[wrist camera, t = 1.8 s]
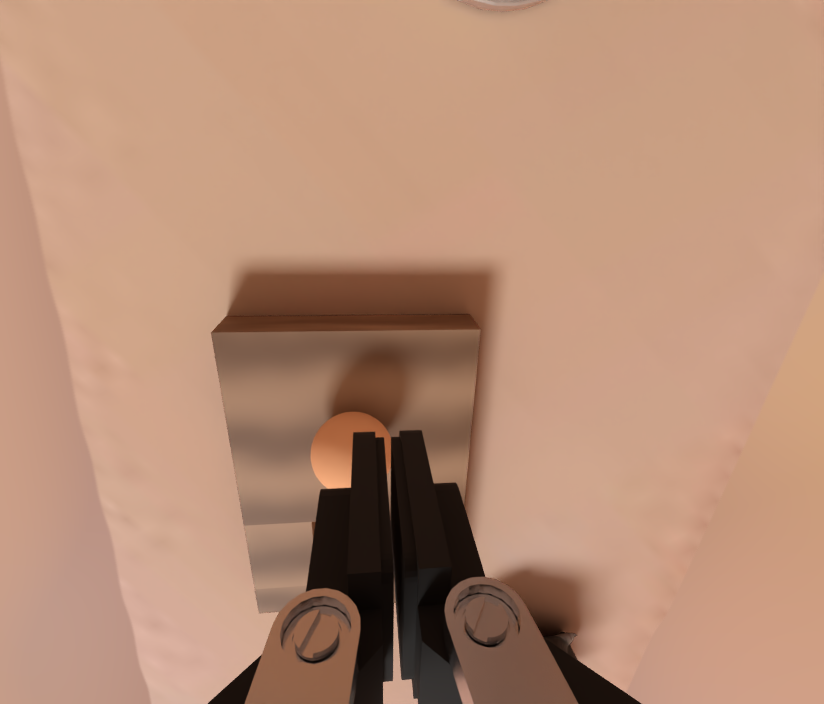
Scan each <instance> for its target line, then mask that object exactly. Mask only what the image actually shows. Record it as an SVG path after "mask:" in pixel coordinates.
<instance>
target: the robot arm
mask: <svg viewBox="0 0 824 704" xmlns="http://www.w3.org/2000/svg"><path fill="white" fill-rule="evenodd" d="M457 1H460V2H463V3H465V4H468V5H470V6H473V7H476V8H478V9H484V10H492V11H500V12H504V11H513V10H521V9H526V8H529V7H531V6H534V5H537V4H540V3H543V2H545V1H547V0H457ZM394 584H395V598H396V612H397V625H398V639H399V653H400V667H401V678H402V680H407V679H412V686H413V697H414V699H415V698H418V704H641V703H640V702H638V701H637V700H635V699H634V698H632V697H631V696H629V695H628V694H627V693H625V692H624V691H622V690H621V689H619V688H618V687H616V686H615V685H613V684H612V683H610V682H609V681H607V680H606V679H604V678H603V677H601V676H600V675H598V674H597V673H596V672H594V671H593V670H591V669H590V668H588V667H587V666H585V665H584V664H582V663H581V662H579V661H578V660H576V659H575V658H573V657H572V656H570V655H569V654H568V653H566V652H565V651H563V650H562V649H560V648H559V647H557V646H556V645H554V644H553V643H551V642H550V641H548V640H547V639H545V638H544V637H542V635H541V633H540V631H539V629H538V627H537V625H536V623H535V622H534V620H533V618H532V616H531V614H530V612H529V610H528V608H527V607H526V605H525V603H524V602H523V600H522V599H521V598H520V596H519V595H518V594H517V593H516V592H515V591H514V590H513V589H511V588H510V587H509V586H508V585H506V584H504V583H502V582H500V581H498V580H496V579H492V578H487V577H485V574H484V571H483V567H482V564H481V561H480V557H479V554H478V551H477V547H476V544H475V541H474V537H473V534H472V531H471V527H470V524H469V521H468V517H467V514H466V510H465V507H464V504H463V500H462V497H461V494H460V490H459V487H458V485H457V483H456V482H453V483H433V478H432V474H431V469H430V465H429V460H428V456H427V451H426V447H425V442H424V438H423V433H422V430H403V431H399V437H391V508H390V509H389V496H388V482H387V469H386V455H385V442H384V437H375V432H353V447H352V471H351V488H332V489H321V490H320V494H319V500H318V508H317V515H316V522H315V529H314V536H313V544H312V551H311V558H310V565H309V572H308V580H307V587H306V592H304V593H301V594H300V595H298V596H297V597H295V598H294V599H292V600H291V601H289V602H288V603H287V604H286V605H285V606H284V608H283V609H282V610H281V611H280V612H279V614H278V615H277V617H276V619H275V621H274V623H273V625H272V628H271V631H270V634H269V636H268V639H267V642H266V645H265V648H264V650H263V653H262V655H261V656H260V657H259V658H258V659H257V660H255V661H254V662H253V663H252V664H251V665H250V666H249V667H248V668H247V669H245V670H244V671H243V672H242V673H241V674H240V675H239V676H238V677H237V678H235V679H234V680H233V681H232V682H231V683H230V684H229V685H228V686H227V687H225V688H224V689H223V690H222V691H221V692H220V693H219V694H218V695H217V696H216V697H214V698H213V699H212V700H211V701H210V702H209V703H208V704H383V682H386V681H393V616H394Z"/></svg>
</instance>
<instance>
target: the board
mask: <svg viewBox="0 0 824 704" xmlns="http://www.w3.org/2000/svg"><path fill="white" fill-rule="evenodd" d="M480 331H481V329H480V328H479V326H478V325H477V324H476V322H475V321H474V319H473V318H472V317H471V315H470V314H450V315H323V316H226V317H225V318H224V319H223V320H222V321H221V323H220V324H219V325H218V326H217V327H216V328H215V329H214V330H213V331H212V332H211V335H212V341H213V347H214V353H215V359H216V365H217V371H218V376H219V382H220V388H221V394H222V400H223V406H224V412H225V418H226V423H227V429H228V435H229V441H230V447H231V453H232V459H233V464H234V470H235V476H236V482H237V488H238V494H239V500H240V506H241V511H242V517H243V523H244V529H245V535H246V541H247V547H248V552H249V558H250V564H251V570H252V576H253V582H254V588H255V594H256V599H257V605H258V611H259V613H271V612H280V611H281V610H282V609H283V608H284V606H285V605H286V604H287V603H288V602H289V601H291V600H292V599H294V598H295V597H297V596H298V595H300V594H301V593H304V592H306V587H307V580H308V572H309V565H310V558H311V551H312V544H313V536H314V529H315V522H316V515H317V508H318V500H319V494H320V490H321V489H327V488H326V487H325V486H324V485H323V484H322V483H321V482H320V481H319V480H318V478H317V477H316V475H315V473H314V471H313V468H312V464H311V446H312V442H313V439H314V437H315V435H316V433H317V431H318V430H319V429H320V427H321V426H322V425H323V424H324V423H325V422H326V421H328V420H329V419H330V418H332V417H334V416H336V415H338V414H341V413H345V412H362V413H366V414H368V415H371V416H372V417H374V418H376V419H377V420H379V421H380V422H381V423H382V424H383V425H384V427H385V428H386V429H387V431H388V433H389V435H390V437H399V431H403V430H422V433H423V438H424V442H425V447H426V451H427V456H428V460H429V465H430V469H431V474H432V478H433V483H453V482H456V483H457V485H458V487H459V490H460V494H461V497H462V500H463V504H464V502H465V492H466V481H467V470H468V460H469V449H470V438H471V427H472V417H473V406H474V395H475V385H476V374H477V363H478V353H479V342H480ZM387 482H388V496H389V509H390V508H391V468H390V471H389V473H388V474H387ZM394 603H396V598H395V584H394Z"/></svg>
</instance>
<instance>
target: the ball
mask: <svg viewBox="0 0 824 704" xmlns="http://www.w3.org/2000/svg"><path fill="white" fill-rule="evenodd" d="M353 432H375V437H384V442H385V455H386V469H387V474H388V473H389V471H390V468H391V437H390V435H389V433H388V431H387V429H386V428H385V427H384V425H383V424H382V423H381V422H380V421H379V420H377V419H376V418H374V417H372V416H371V415H368V414H366V413H362V412H345V413H341V414H338V415H336V416H334V417H332V418H330V419H329V420H328V421H326V422H325V423H324V424H323V425H322V426H321V427H320V429H319V430H318V431H317V433H316V435H315V437H314V439H313V442H312V446H311V464H312V468H313V471H314V473H315V475H316V477H317V478H318V480H319V481H320V482H321V483H322V484H323V485H324V486H325V487H326V488H327V489H332V488H351V471H352V447H353Z"/></svg>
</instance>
